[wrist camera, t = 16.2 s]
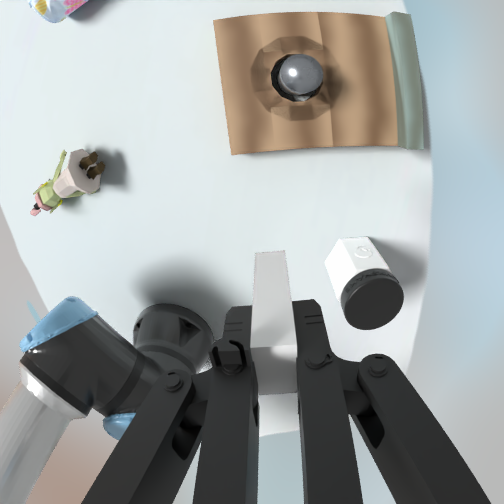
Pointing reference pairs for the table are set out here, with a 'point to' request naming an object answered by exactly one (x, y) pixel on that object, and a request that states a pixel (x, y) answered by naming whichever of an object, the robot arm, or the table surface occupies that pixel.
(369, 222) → the table surface
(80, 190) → the figurine
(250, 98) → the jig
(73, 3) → the pencil case
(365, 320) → the jar
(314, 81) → the grey metal cylinder
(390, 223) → the table surface
